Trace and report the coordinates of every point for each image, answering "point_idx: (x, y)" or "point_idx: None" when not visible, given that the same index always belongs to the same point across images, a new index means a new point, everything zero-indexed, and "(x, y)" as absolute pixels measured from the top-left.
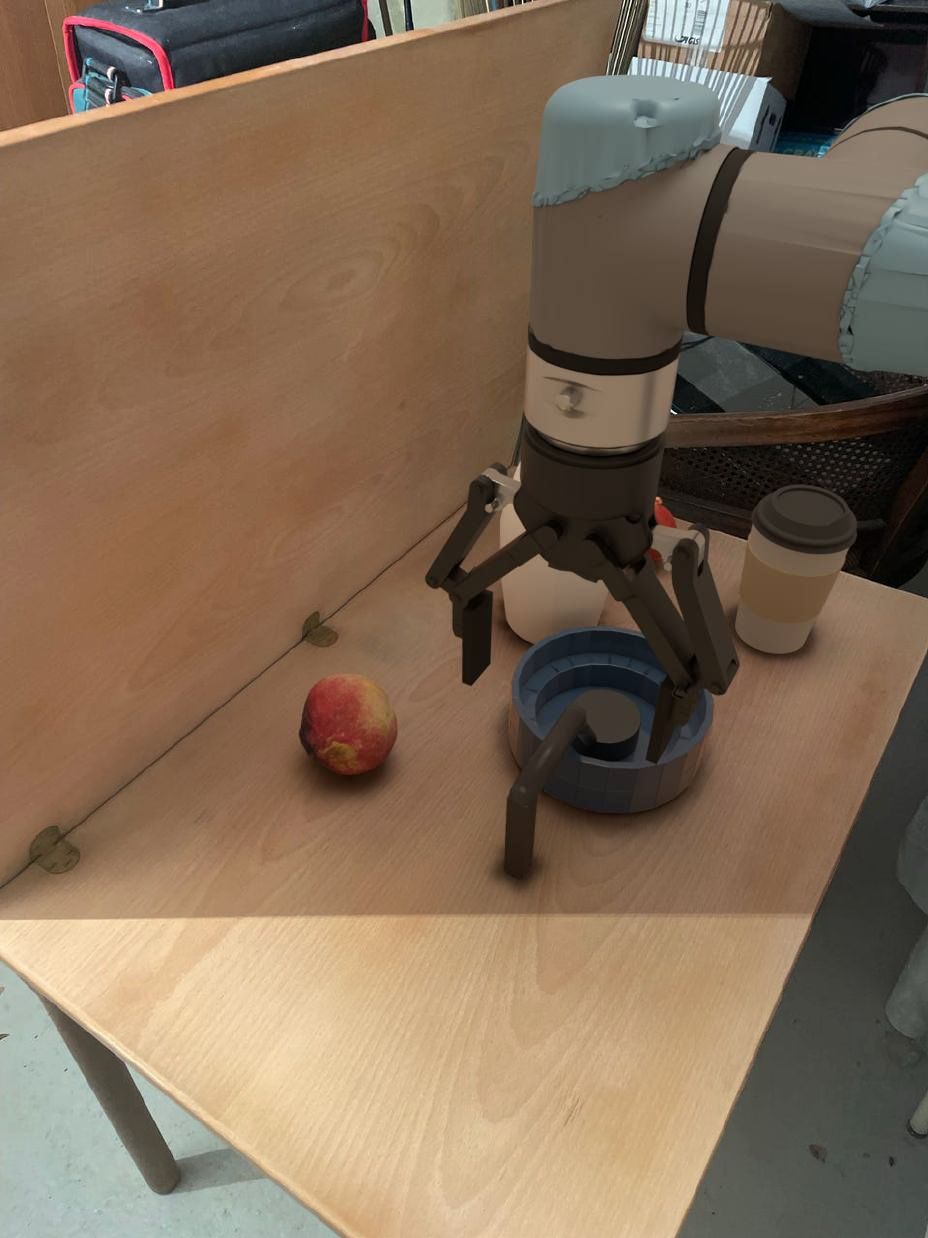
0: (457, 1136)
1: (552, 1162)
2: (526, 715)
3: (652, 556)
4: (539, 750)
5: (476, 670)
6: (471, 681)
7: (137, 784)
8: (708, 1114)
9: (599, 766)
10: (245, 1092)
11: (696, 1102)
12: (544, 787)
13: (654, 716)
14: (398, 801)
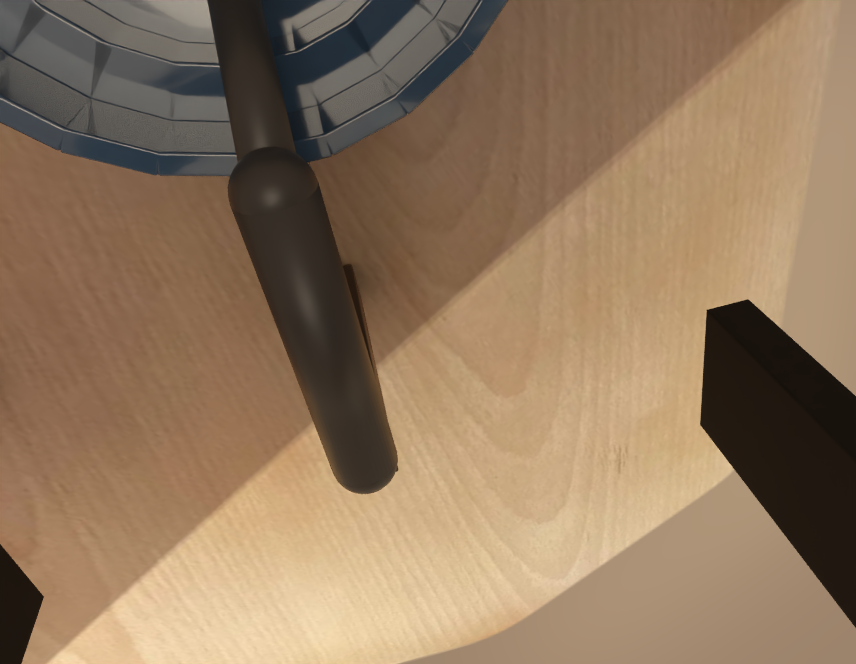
0: (528, 549)
1: (625, 500)
2: (67, 132)
3: None
4: (313, 389)
5: (7, 621)
6: (35, 616)
7: None
8: None
9: (382, 128)
10: (325, 660)
11: None
12: None
13: (834, 597)
14: (36, 350)
